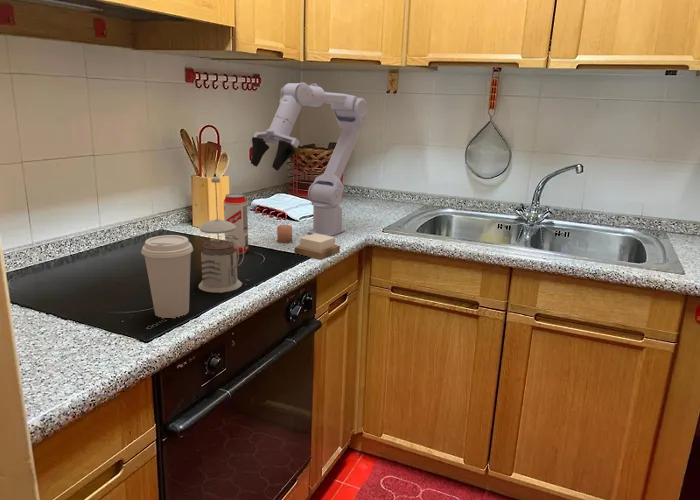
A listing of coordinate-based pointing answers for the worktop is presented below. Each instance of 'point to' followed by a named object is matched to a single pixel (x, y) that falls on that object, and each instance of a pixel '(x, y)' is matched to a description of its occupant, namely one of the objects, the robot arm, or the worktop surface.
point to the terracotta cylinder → (284, 233)
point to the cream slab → (317, 242)
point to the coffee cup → (169, 274)
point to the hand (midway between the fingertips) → (264, 166)
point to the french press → (224, 275)
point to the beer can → (237, 220)
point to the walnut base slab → (317, 252)
